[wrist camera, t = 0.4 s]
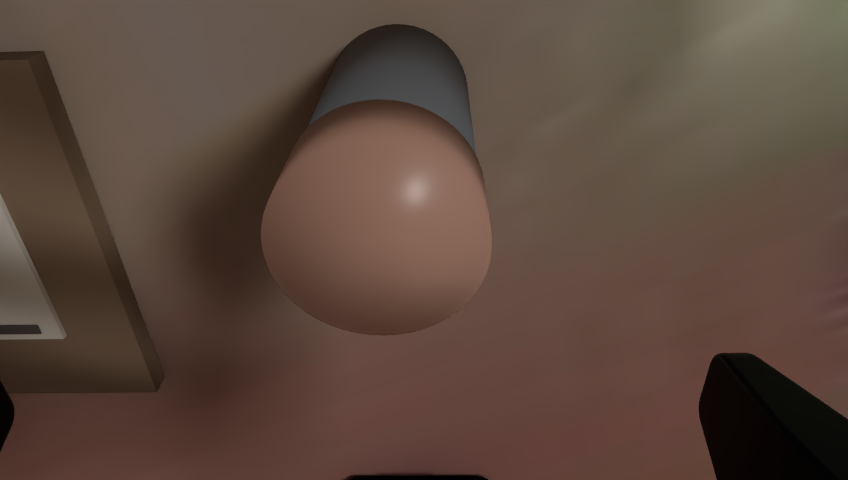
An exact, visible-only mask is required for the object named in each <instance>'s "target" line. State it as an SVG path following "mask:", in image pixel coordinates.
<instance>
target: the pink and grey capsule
mask: <svg viewBox="0 0 848 480" xmlns="http://www.w3.org/2000/svg"><path fill="white" fill-rule="evenodd" d="M261 243H262V251H263V254H264V258H265V261H266V264H267V266H268V268H269V271H270V273H271V275H272V276H273V278H274V280H275V281H276V283H277V284H278V286H279V287H280V288H281V289H282V291H283V292H284V293H285V294H286V296H288V297H289V298H290V299H291V300H292V301H293V302H294V303H295V304H296V305H297V306H299V307H300V308H301V309H303V310H304V311H305V312H307V313H308V314H310V315H311V316H313V317H315V318H317V319H318V320H320V321H323V322H325V323H327V324H329V325H331V326H334V327H337V328H340V329H343V330H347V331H351V332H355V333H361V334H369V335H398V334H404V333H410V332H414V331H418V330H422V329H425V328H427V327H430V326H433V325H435V324H437V323H439V322H441V321H443V320H445V319H447V318H448V317H450V316H451V315H453V314H454V313H456V312H457V311H458V310H460V309H461V308H462V307H463V306H464V305H465V304H466V303H467V302H468V301H469V300H470V299H471V298H472V297H473V296H474V294H475V293H476V292H477V290H478V289H479V287H480V286H481V284H482V282H483V280H484V278H485V276H486V273H487V271H488V267H489V264H490V260H491V252H492V235H491V227H490V220H489V213H488V206H487V199H486V191H485V184H484V179H483V173H482V169H481V166H480V164H479V161H478V158H477V156H476V152H475V144H474V136H473V128H472V120H471V112H470V104H469V96H468V88H467V81H466V76H465V73H464V70H463V67H462V65H461V63H460V61H459V59H458V58H457V56H456V55H455V53H454V52H453V51H452V50H451V48H450V47H449V46H448V45H447V44H446V43H445V42H443V41H442V40H441V39H440V38H438V37H437V36H435V35H434V34H432V33H430V32H428V31H426V30H424V29H421V28H418V27H415V26H410V25H402V24H392V25H384V26H380V27H376V28H373V29H371V30H368V31H366V32H364V33H363V34H361V35H359V36H358V37H357V38H355V39H354V40H353V41H352V42H351V43H350V44H349V45H348V46H347V47H346V48H345V49H344V50H343V52H342V53H341V55H340V56H339V58H338V60H337V62H336V64H335V66H334V68H333V71H332V73H331V75H330V77H329V80H328V82H327V84H326V86H325V89H324V91H323V93H322V95H321V98H320V100H319V102H318V104H317V107H316V109H315V111H314V113H313V116H312V118H311V120H310V122H309V125H308V127H307V129H306V130H305V131H304V132H303V133H302V135H301V136H300V137H299V139H298V140H297V141H296V143H295V145H294V147H293V149H292V150H291V152H290V154H289V157H288V159H287V161H286V163H285V165H284V167H283V170H282V172H281V174H280V176H279V178H278V180H277V182H276V185H275V187H274V189H273V191H272V193H271V195H270V198H269V200H268V202H267V205H266V208H265V210H264V213H263V218H262V224H261Z"/></svg>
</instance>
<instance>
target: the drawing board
mask: <svg viewBox="0 0 848 480" xmlns="http://www.w3.org/2000/svg"><path fill="white" fill-rule="evenodd" d="M163 379H164V374H163V372H162V369H161V366H160V363H159V361H158V358H157V355H156V353H155V350H154V347H153V345H152V342H151V339H150V336H149V334H148V331H147V328H146V326H145V323H144V320H143V318H142V315H141V312H140V310H139V307H138V304H137V301H136V299H135V296H134V293H133V291H132V288H131V285H130V283H129V280H128V277H127V274H126V272H125V269H124V266H123V264H122V261H121V258H120V256H119V253H118V250H117V247H116V245H115V242H114V239H113V237H112V234H111V231H110V229H109V226H108V223H107V221H106V218H105V215H104V212H103V210H102V207H101V204H100V202H99V199H98V196H97V194H96V191H95V188H94V185H93V183H92V180H91V177H90V175H89V172H88V169H87V167H86V164H85V161H84V158H83V156H82V153H81V150H80V148H79V145H78V142H77V140H76V137H75V134H74V132H73V129H72V126H71V123H70V121H69V118H68V115H67V113H66V110H65V107H64V105H63V102H62V99H61V96H60V94H59V91H58V88H57V86H56V83H55V80H54V78H53V75H52V72H51V69H50V67H49V64H48V61H47V59H46V56H45V53H44V51H29V52H0V380H1V382H2V384H3V386H4V387H5V389H6V391H7V393H105V392H157V391H158V389H159V387H160V385H161V383H162V381H163Z"/></svg>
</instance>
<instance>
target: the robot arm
mask: <svg viewBox="0 0 848 480" xmlns="http://www.w3.org/2000/svg"><path fill="white" fill-rule="evenodd" d="M699 417H700V421H701V425H702V429H703V432H704V436H705V439H706V443H707V446H708V450H709V453H710V457H711V460H712V464H713V467H714V471H715V475H716V478H717V480H848V419H847V418H845V417H844V416H843V415H841V414H840V413H838V412H837V411H835V410H834V409H832V408H831V407H829V406H828V405H827V404H825V403H824V402H822V401H821V400H819V399H818V398H816V397H815V396H813V395H812V394H811V393H809V392H808V391H806V390H805V389H803V388H802V387H800V386H799V385H797V384H796V383H795V382H793V381H792V380H790V379H789V378H787V377H786V376H784V375H783V374H781V373H780V372H779V371H777V370H776V369H774V368H773V367H771V366H770V365H768V364H767V363H765V362H764V361H763V360H761V359H760V358H758V357H756V356H755V355H753V354H750V353H720V354H717V355H715V356H714V357H713V359H712V361H711V363H710V366H709V370H708V373H707V376H706V380H705V383H704V386H703V390H702V393H701V397H700V401H699ZM13 420H14V405H13V403H12V400H11V399H10V397H9V395H8V393H7V391H6V389H5V387H4V386H3V384H2V382H1V380H0V451H1V449H2V447H3V444H4V442H5V440H6V438H7V435H8V433H9V431H10V428H11V426H12V423H13ZM350 480H488V479H486V478H482V477H357V478H352V479H350Z"/></svg>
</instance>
